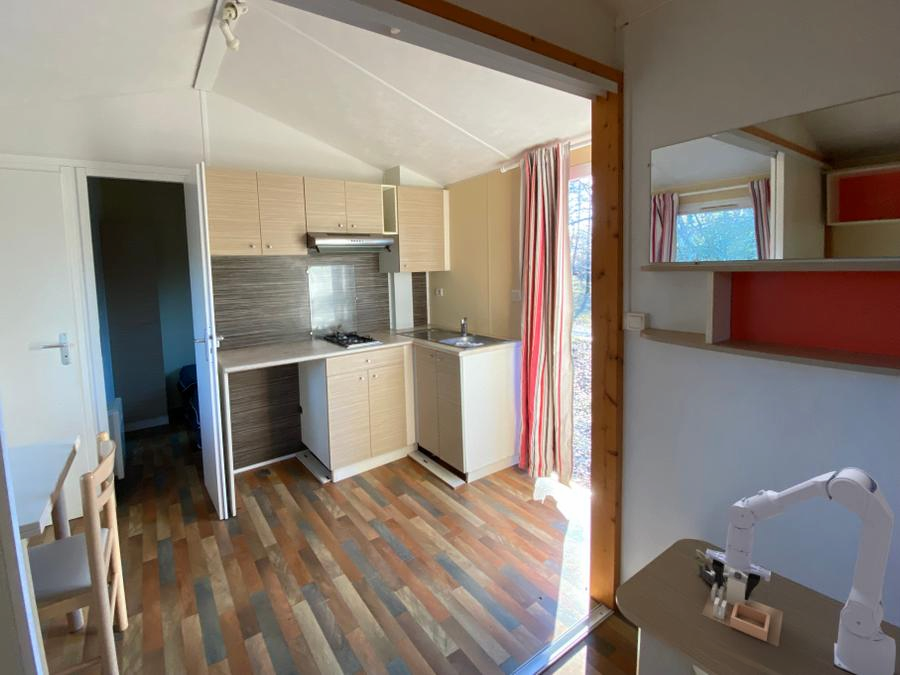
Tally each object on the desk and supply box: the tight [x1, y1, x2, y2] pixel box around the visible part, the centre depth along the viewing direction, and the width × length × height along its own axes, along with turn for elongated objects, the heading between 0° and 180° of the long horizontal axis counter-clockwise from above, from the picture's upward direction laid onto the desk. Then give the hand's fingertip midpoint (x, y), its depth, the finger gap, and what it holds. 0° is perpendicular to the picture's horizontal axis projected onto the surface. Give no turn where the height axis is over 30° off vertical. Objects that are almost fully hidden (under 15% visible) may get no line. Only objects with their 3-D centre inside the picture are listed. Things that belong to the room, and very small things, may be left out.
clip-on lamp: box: [695, 549, 747, 588], centre depth 132 cm, size 12×6×18 cm
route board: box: [701, 586, 784, 648], centre depth 116 cm, size 16×15×1 cm
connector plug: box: [726, 570, 748, 605], centre depth 120 cm, size 4×4×8 cm
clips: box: [711, 583, 727, 620], centre depth 118 cm, size 4×9×3 cm, turn 140°
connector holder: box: [730, 602, 770, 642], centre depth 112 cm, size 7×7×2 cm
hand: (733, 592), depth 121 cm, fingers open, 5 cm apart
